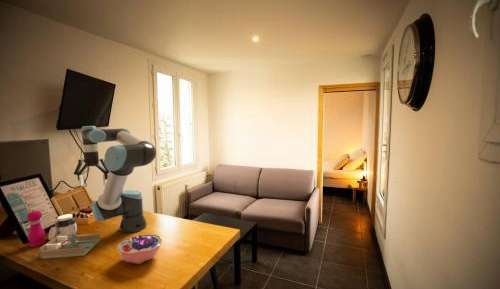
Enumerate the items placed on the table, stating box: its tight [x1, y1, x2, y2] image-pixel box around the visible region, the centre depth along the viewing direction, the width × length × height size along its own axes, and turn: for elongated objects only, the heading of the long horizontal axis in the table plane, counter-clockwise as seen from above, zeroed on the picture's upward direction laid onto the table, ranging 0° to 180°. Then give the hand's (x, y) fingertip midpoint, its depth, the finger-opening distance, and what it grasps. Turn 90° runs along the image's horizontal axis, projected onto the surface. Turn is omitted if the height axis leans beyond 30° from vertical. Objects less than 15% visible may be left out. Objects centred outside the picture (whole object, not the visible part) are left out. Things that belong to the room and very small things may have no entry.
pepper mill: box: [26, 207, 46, 248], centre depth 126 cm, size 7×7×20 cm
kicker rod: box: [61, 218, 80, 249], centre depth 121 cm, size 7×4×15 cm, turn 97°
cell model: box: [116, 233, 163, 265], centre depth 111 cm, size 17×20×11 cm
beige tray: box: [38, 233, 101, 260], centre depth 122 cm, size 20×15×5 cm
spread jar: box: [47, 213, 78, 241], centre depth 134 cm, size 12×11×12 cm
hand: (93, 185), depth 145 cm, fingers open, 13 cm apart
